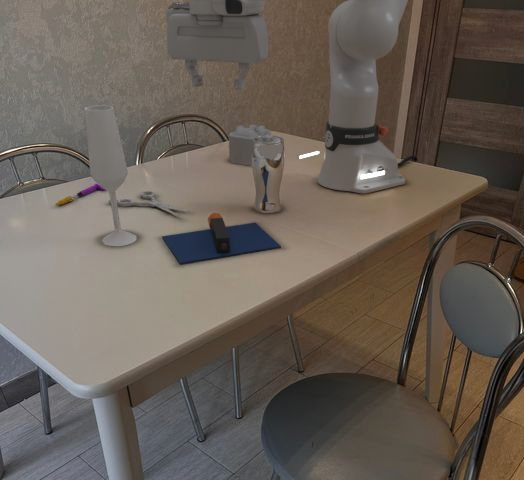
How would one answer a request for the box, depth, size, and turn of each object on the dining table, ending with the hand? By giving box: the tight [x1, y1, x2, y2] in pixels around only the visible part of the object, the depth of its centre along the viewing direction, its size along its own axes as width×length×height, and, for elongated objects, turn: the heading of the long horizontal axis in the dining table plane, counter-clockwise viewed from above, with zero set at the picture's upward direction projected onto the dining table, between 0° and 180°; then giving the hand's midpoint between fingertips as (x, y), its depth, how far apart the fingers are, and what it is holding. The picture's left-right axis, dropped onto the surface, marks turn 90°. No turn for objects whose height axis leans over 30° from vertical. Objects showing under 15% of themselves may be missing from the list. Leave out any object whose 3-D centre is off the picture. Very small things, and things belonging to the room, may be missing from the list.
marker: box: [207, 212, 230, 253], centre depth 103 cm, size 14×3×3 cm, turn 11°
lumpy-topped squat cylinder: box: [228, 124, 272, 167], centre depth 151 cm, size 10×13×9 cm
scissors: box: [108, 190, 190, 218], centre depth 120 cm, size 11×1×20 cm
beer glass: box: [251, 135, 285, 214], centre depth 116 cm, size 7×7×15 cm
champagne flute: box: [84, 104, 137, 247], centre depth 98 cm, size 7×7×24 cm
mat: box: [161, 222, 282, 265], centre depth 104 cm, size 20×13×1 cm, turn 113°
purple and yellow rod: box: [55, 183, 106, 206], centre depth 125 cm, size 3×1×16 cm
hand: (218, 87), depth 103 cm, fingers open, 8 cm apart
